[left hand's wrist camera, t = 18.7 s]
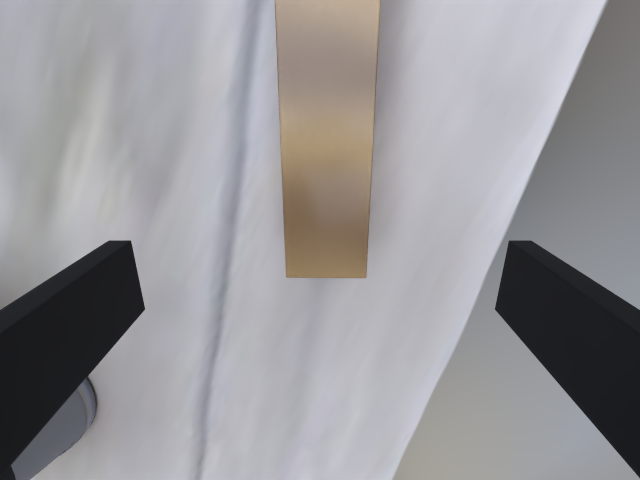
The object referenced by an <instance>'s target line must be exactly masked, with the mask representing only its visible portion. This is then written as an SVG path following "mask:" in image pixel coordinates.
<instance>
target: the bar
mask: <svg viewBox="0 0 640 480" xmlns="http://www.w3.org/2000/svg"><path fill="white" fill-rule="evenodd" d="M275 17H276V41H277V66H278V90H279V114H280V139H281V163H282V188H283V212H284V237H285V261H286V277H291V278H366V271H367V252H368V232H369V213H370V193H371V174H372V155H373V135H374V116H375V96H376V77H377V58H378V38H379V19H380V0H275Z"/></svg>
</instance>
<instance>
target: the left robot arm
mask: <svg viewBox="0 0 640 480" xmlns="http://www.w3.org/2000/svg"><path fill="white" fill-rule="evenodd" d="M144 310H145V307H144V302H143V297H142V292H141V287H140V282H139V278H138V273H137V268H136V263H135V258H134V253H133V248H132V244H131V241H108V242H106V243H104V244H103V245H101V246H100V247H98V248H97V249H95V250H93V251H92V252H90V253H89V254H87V255H86V256H84V257H83V258H81V259H79V260H78V261H76V262H75V263H73V264H72V265H70V266H68V267H67V268H65V269H64V270H62V271H61V272H59V273H58V274H56V275H54V276H53V277H51V278H50V279H48V280H47V281H45V282H43V283H42V284H40V285H39V286H37V287H36V288H34V289H33V290H31V291H29V292H28V293H26V294H25V295H23V296H22V297H20V298H18V299H17V300H15V301H14V302H12V303H11V304H9V305H8V306H6V307H4V308H3V309H1V310H0V480H30V479H31V478H32V477H34V476H35V475H36V474H37V473H39V472H40V471H41V470H42V469H43V468H45V467H46V466H47V465H48V464H50V463H51V462H52V461H53V460H54V459H55V458H57V457H58V456H60V455H61V454H63V453H64V452H66V451H67V450H68V449H70V448H71V447H72V446H73V445H74V444H75V443H76V442H77V441H78V440H79V439H80V438H81V437H82V435H83V434H84V433H85V431H86V430H87V429H88V427H89V426H90V425H91V423H92V421H93V419H94V416H95V412H96V400H95V396H94V392H93V390H92V387H91V385H90V383H89V382H88V380H87V378H86V377H87V376H88V375H89V374H90V373H91V372H92V370H93V369H94V368H95V367H96V366H97V365H98V363H99V362H100V361H101V360H102V359H103V358H104V356H105V355H106V354H107V353H108V352H109V351H110V349H111V348H112V347H113V346H114V345H115V344H116V342H117V341H118V340H119V339H120V338H121V337H122V336H123V334H124V333H125V332H126V331H127V330H128V329H129V327H130V326H131V325H132V324H133V323H134V322H135V320H136V319H137V318H138V317H139V316H140V315H141V313H142V312H143V311H144ZM495 310H496V311H497V312H498V313H499V314H500V316H501V317H502V318H503V319H504V320H505V322H506V323H507V324H508V325H509V326H510V327H511V329H512V330H513V331H514V332H515V333H516V334H517V336H518V337H519V338H520V339H521V340H522V341H523V342H524V344H525V345H526V346H527V347H528V348H529V349H530V351H531V352H532V353H533V354H534V355H535V356H536V358H537V359H538V360H539V361H540V362H541V363H542V365H543V366H544V367H545V368H546V369H547V370H548V372H549V373H550V374H551V375H552V376H553V377H554V379H555V380H556V381H557V382H558V383H559V384H560V386H561V387H562V388H563V389H564V390H565V391H566V393H567V394H568V395H569V396H570V397H571V398H572V400H573V401H574V402H575V403H576V404H577V405H578V407H579V408H580V409H581V410H582V411H583V412H584V414H585V415H586V416H587V417H588V418H589V419H590V420H591V422H592V423H593V424H594V425H595V426H596V427H597V429H598V430H599V431H600V432H601V433H602V434H603V436H604V437H605V438H606V439H607V440H608V441H609V443H610V444H611V445H612V446H613V447H614V448H615V450H616V451H617V452H618V453H619V454H620V455H621V457H622V458H623V459H624V460H625V461H626V462H627V464H628V465H629V466H630V467H631V468H632V469H633V471H634V472H635V473H636V474H637V475H638V476H639V478H640V310H639V309H637V308H636V307H634V306H632V305H631V304H629V303H628V302H626V301H625V300H623V299H622V298H620V297H618V296H617V295H615V294H614V293H612V292H611V291H609V290H607V289H606V288H604V287H603V286H601V285H600V284H598V283H596V282H595V281H593V280H592V279H590V278H589V277H587V276H586V275H584V274H582V273H581V272H579V271H578V270H576V269H575V268H573V267H571V266H570V265H568V264H567V263H565V262H564V261H562V260H561V259H559V258H557V257H556V256H554V255H553V254H551V253H550V252H548V251H547V250H545V249H543V248H542V247H540V246H539V245H537V244H536V243H534V242H532V241H509V243H508V248H507V253H506V258H505V263H504V268H503V273H502V278H501V282H500V287H499V292H498V297H497V302H496V307H495Z"/></svg>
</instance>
